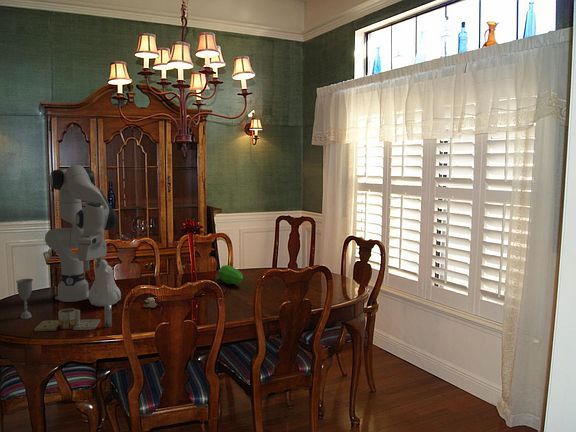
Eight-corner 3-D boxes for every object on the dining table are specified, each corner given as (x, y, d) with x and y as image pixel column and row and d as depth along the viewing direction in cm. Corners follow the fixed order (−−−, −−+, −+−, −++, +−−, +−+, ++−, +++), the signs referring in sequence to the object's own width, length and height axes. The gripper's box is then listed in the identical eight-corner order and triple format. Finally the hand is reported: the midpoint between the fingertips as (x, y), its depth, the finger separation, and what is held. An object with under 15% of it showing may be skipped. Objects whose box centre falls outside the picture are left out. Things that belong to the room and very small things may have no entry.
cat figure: (186, 302, 273) (141, 304, 260) (188, 286, 272) (142, 288, 259) (193, 306, 264) (146, 309, 251) (194, 290, 264) (147, 292, 251)
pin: (105, 325, 229) (105, 304, 228) (112, 325, 229) (112, 304, 228) (104, 327, 226) (103, 306, 225) (111, 327, 226) (110, 306, 225)
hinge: (43, 323, 230) (42, 307, 229) (100, 321, 234) (99, 306, 233) (34, 331, 219) (33, 315, 219) (94, 329, 223) (93, 313, 222)
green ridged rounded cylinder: (225, 260, 321) (246, 267, 295) (231, 275, 324) (253, 283, 299) (210, 268, 316) (231, 276, 290) (217, 283, 319) (238, 293, 293)
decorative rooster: (121, 308, 254) (120, 261, 252) (88, 311, 249) (86, 262, 246) (120, 295, 278) (119, 252, 275) (90, 298, 273) (89, 253, 270)
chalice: (30, 313, 244) (29, 277, 242) (37, 316, 239) (35, 280, 237) (15, 317, 238) (13, 280, 236) (21, 320, 234) (19, 283, 232)
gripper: (98, 236, 234) (96, 265, 235) (75, 239, 214) (74, 271, 214) (110, 237, 233) (109, 266, 234) (89, 240, 213) (88, 272, 214)
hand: (92, 268), depth 224 cm, fingers open, 8 cm apart
